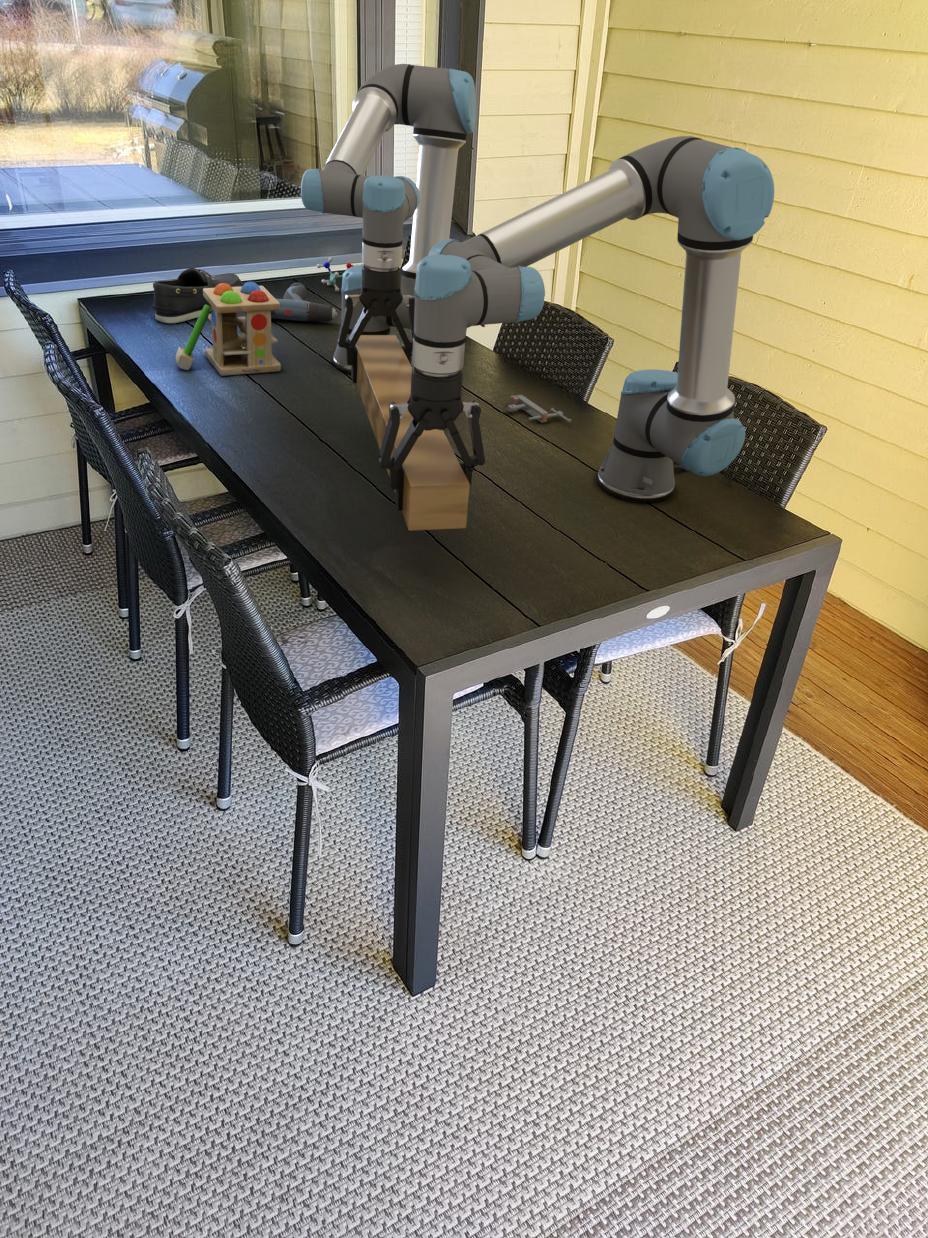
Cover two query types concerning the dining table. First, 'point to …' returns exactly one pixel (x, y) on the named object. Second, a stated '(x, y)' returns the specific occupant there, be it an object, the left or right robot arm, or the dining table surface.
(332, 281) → the molecular model
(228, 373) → the pounding bench toy
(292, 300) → the power drill
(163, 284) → the boat shoe
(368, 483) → the dining table surface
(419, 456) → the wide beam
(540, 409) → the clamp
